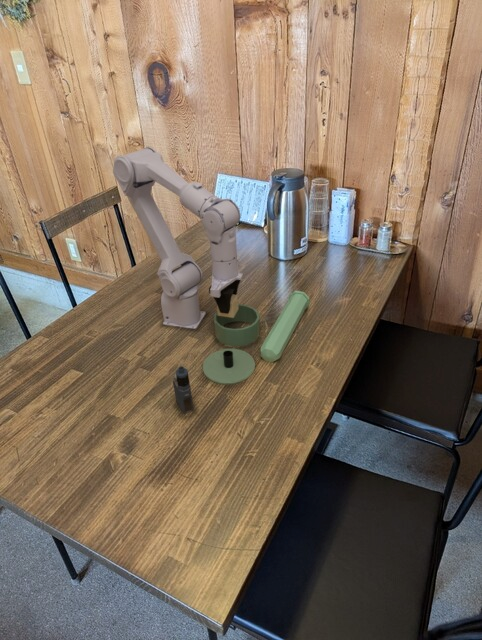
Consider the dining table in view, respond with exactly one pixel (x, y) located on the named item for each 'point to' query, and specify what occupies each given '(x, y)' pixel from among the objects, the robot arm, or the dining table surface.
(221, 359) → the lid
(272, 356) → the green octagonal rod
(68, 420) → the dining table surface
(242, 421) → the dining table surface
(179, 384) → the vaping device
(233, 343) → the pan
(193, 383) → the dining table surface
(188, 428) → the dining table surface
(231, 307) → the block
